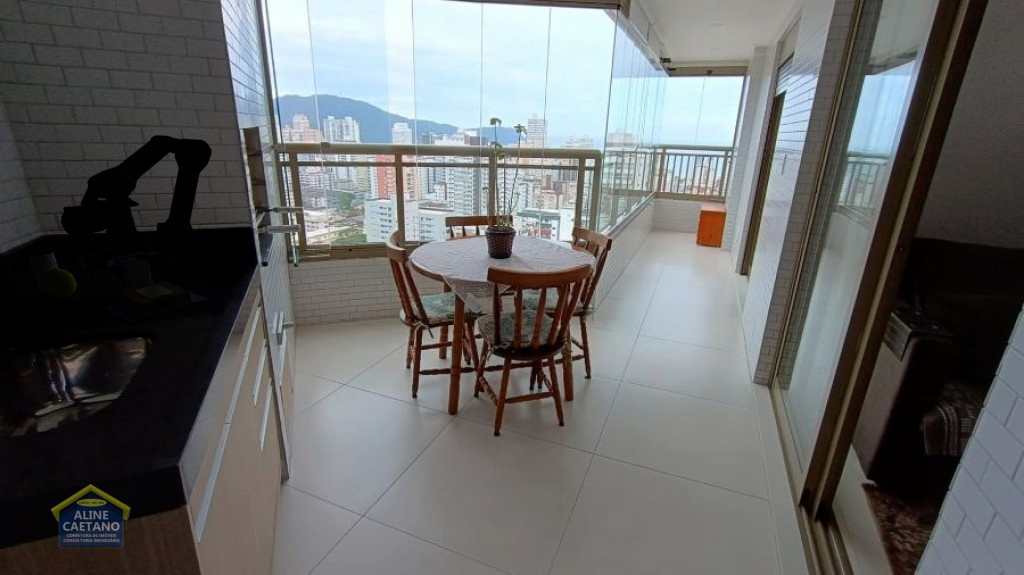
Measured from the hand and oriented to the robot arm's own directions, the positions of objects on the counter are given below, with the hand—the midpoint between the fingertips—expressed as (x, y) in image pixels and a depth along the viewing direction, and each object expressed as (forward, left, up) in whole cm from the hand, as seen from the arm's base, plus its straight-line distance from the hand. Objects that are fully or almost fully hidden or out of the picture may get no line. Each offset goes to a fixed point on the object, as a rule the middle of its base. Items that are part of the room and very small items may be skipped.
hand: (138, 285), depth 118 cm
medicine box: (0, 0, -2) cm, 2 cm away
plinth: (+1, +12, -2) cm, 12 cm away
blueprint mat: (+1, +12, -2) cm, 12 cm away
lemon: (+12, -10, -2) cm, 16 cm away
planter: (+12, -18, -2) cm, 22 cm away
